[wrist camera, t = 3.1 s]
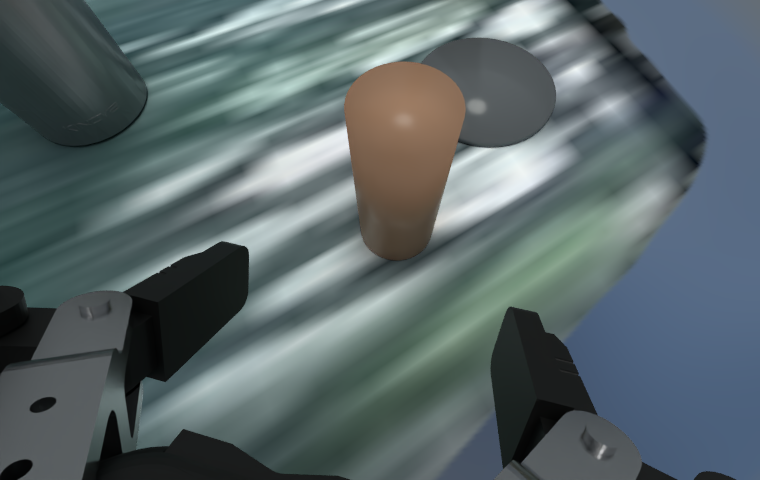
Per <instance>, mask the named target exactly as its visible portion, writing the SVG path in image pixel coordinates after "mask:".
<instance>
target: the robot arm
mask: <svg viewBox="0 0 760 480" xmlns="http://www.w3.org/2000/svg"><path fill="white" fill-rule="evenodd" d="M146 95H147V89H146V85H145V82H144V80H143V79H142V77H141V76H140V74H139V73H138V72H137V70H136V69H135V68H134V66H133V65H132V64H131V62H130V61H129V60H128V58H127V57H126V56H125V54H124V53H123V52H122V50H121V49H120V48H119V46H118V45H117V44H116V42H115V41H114V39H113V38H112V37H111V35H110V34H109V32H108V31H107V30H106V28H105V27H104V26H103V24H102V23H101V22H100V20H99V19H98V18H97V16H96V15H95V14H94V12H93V11H92V10H91V8H90V7H89V6H88V4H87V3H86V2H85V0H0V103H2V104H3V105H4V106H5V107H7V108H8V109H9V110H11V111H12V112H13V113H14V114H16V115H17V116H18V117H20V118H21V119H22V120H23V121H25V122H26V123H27V124H28V125H30V126H31V127H32V128H34V129H35V130H36V131H37V132H39V133H40V134H41V135H43V136H44V137H45V138H47V139H49V140H50V141H52V142H54V143H58V144H61V145H69V146H79V145H88V144H92V143H96V142H99V141H102V140H104V139H107V138H109V137H111V136H113V135H115V134H117V133H118V132H120V131H122V130H123V129H124V128H125V127H127V126H128V125H129V124H130V123H132V121H133V120H134V119H135V118H136V117H137V116H138V115H139V113H140V111H141V110H142V108H143V106H144V103H145V100H146ZM248 279H249V252H248V249H247V248H246V247H245V246H241V245H237V244H232V243H228V242H223V241H222V242H219V243H217V244H215V245H214V246H212V247H210V248H209V249H207V250H205V251H204V252H201V253H198V254H194V255H191V256H187V257H184V258H182V259H181V260H179V261H177V262H175V263H174V264H172V265H171V267H167V268H165V269H163V270H161V271H160V273H156V274H154V275H152V276H151V277H149V278H147V279H145V280H144V281H142V282H140V283H138V284H137V285H135V286H133V287H131V288H130V289H128V290H126V291H124V292H119V291H96V292H90V293H86V294H82V295H79V296H76V297H74V298H71V299H69V300H67V301H65V302H64V303H63V304H61V305H60V306H59V307H58V308H57V309H55V308H28V307H27V305H26V301H25V297H24V293H23V291H22V290H21V289H19V288H16V287H11V286H0V480H350V479H346V478H343V477H340V476H326V475H298V474H280V473H276V472H274V471H272V470H271V469H269V468H267V467H266V466H264V465H263V464H261V463H260V462H258V461H257V460H255V459H254V458H252V457H251V456H249V455H248V454H246V453H245V452H243V451H242V450H240V449H239V448H237V447H236V446H234V445H233V444H231V443H227V442H224V441H221V440H217V439H214V438H211V437H207V436H204V435H201V434H198V433H194V432H191V431H188V430H184V429H183V430H182V431H181V433H180V434H179V435H178V436H177V437H176V439H175V440H174V441H173V442H172V443H171V444H170V446H162V447H150V448H144V449H138V450H136V448H137V439H138V431H139V423H140V414H141V406H142V397H143V385H142V380H143V379H144V378H145V377H149V378H153V379H156V380H160V381H163V382H166V381H167V380H168V379H169V378H170V377H171V376H172V375H173V374H174V373H175V372H177V371H178V370H179V369H180V368H181V367H182V366H183V365H184V364H185V363H186V362H187V361H188V360H189V359H190V358H191V357H192V356H193V355H194V354H195V353H196V352H197V351H198V350H199V349H200V348H202V347H203V346H204V345H205V344H206V343H207V342H208V341H209V340H210V339H211V338H212V337H213V336H214V335H215V334H216V333H217V332H218V331H219V330H220V329H221V328H222V327H223V326H224V325H225V324H227V323H228V322H229V321H230V320H231V319H232V318H233V317H234V316H235V315H236V314H237V313H238V312H239V311H240V310H241V309H242V307H243V306H244V304H245V302H246V299H247V296H248ZM578 374H579V373H578V371H577V369H576V366H575V364H573V360H572V358H571V355H570V353H569V351H568V349H567V347H566V346H565V345H564V344H563V343H562V342H561V341H560V340H559V339H558V338H557V337H556V336H555V335H554V334H550V333H546V332H545V330H544V328H543V325H542V323H541V320H540V317H539V315H538V313H536V312H532V311H528V310H523V309H519V308H515V307H509V308H508V309H507V311H506V314H505V316H504V319H503V322H502V326H501V329H500V332H499V335H498V338H497V341H496V344H495V347H494V350H493V353H492V358H491V379H492V387H493V395H494V402H495V410H496V418H497V426H498V434H499V441H500V449H501V456H502V465H503V470H502V472H500V474H499V475H498V476H497V477H496V478H495V479H494V480H677V479H675V478H673V477H671V476H669V475H667V474H665V473H663V472H661V471H659V470H657V469H655V468H652V467H651V466H649V465H647V464H645V463H643V462H642V461H641V456H640V454H639V451H638V449H637V448H636V446H635V445H634V443H633V442H632V441H631V440H630V439H629V437H627V435H626V434H625V433H624V432H622V431H621V430H620V429H619V428H618V427H616V426H615V425H613V424H612V423H611V422H609V421H607V420H606V419H604V418H602V417H600V416H598V415H597V413H596V411H595V408H594V406H593V404H592V402H591V400H590V397H589V395H588V393H587V391H586V388H585V386H584V384H583V382H582V380H581V377H580V376H578ZM694 480H736V479H733V478H731V477H729V476H726V475H724V474H721V473H716V472H710V471H709V472H708V471H706V472H701V473H699V474H698V475H697V476H696V477H695V479H694Z"/></svg>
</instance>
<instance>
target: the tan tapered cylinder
mask: <svg viewBox="0 0 760 480" xmlns="http://www.w3.org/2000/svg"><path fill="white" fill-rule="evenodd" d="M344 111H345V118H346V126H347V133H348V140H349V148H350V155H351V162H352V170H353V177H354V184H355V191H356V199H357V206H358V213H359V221H360V228H361V234H362V238H363V240H364V242H365V244H366V245H367V247H368V248H369V249H370V250H371V251H372V252H373V253H375V254H376V255H378V256H380V257H382V258H385V259H388V260H406V259H409V258H412V257H414V256H416V255H417V254H419V253H420V252H421V251H423V249H424V248H425V247H426V246H427V244H428V243H429V241H430V238H431V235H432V231H433V228H434V224H435V221H436V217H437V214H438V210H439V206H440V203H441V199H442V196H443V192H444V189H445V185H446V182H447V178H448V175H449V171H450V167H451V164H452V160H453V157H454V153H455V150H456V146H457V143H458V139H459V136H460V132H461V129H462V125H463V121H464V118H465V112H466V107H465V100H464V97H463V94H462V92H461V90H460V89H459V87H458V86H457V84H456V83H455V82H454V81H453V80H452V79H451V78H450V77H448V76H447V75H446V74H444V73H443V72H441V71H440V70H437V69H435V68H433V67H431V66H428V65H424V64H420V63H414V62H394V63H388V64H383V65H380V66H377V67H375V68H373V69H371V70H369V71H367V72H365V73H364V74H363V75H361V76H360V77H359V78H358V79H357V80H356V81H355V82H354V83H353V84H352V86H351V87H350V89H349V91H348V93H347V95H346V98H345V104H344Z"/></svg>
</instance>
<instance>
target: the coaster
mask: <svg viewBox="0 0 760 480" xmlns="http://www.w3.org/2000/svg"><path fill="white" fill-rule="evenodd" d="M421 64H424V65H428V66H431V67H433V68H435V69H437V70H440V71H441V72H443V73H444V74H446V75H447V76H448V77H450V78H451V79H452V80H453V81H454V82H455V83H456V84H457V86H458V87H459V89H460V90H461V92H462V94H463V97H464V100H465V107H466V112H465V118H464V121H463V125H462V129H461V132H460V136H459V139H458V142H461V143H464V144H468V145H473V146H479V147H502V146H509V145H512V144H516V143H519V142H521V141H524V140H526V139H528V138H530V137H531V136H533V135H534V134H536V133H537V132H538V131H539V130H540V129H541V128H542V127H543V126H544V125H545V123H546V122H547V120H548V119H549V117H550V115H551V114H552V111H553V109H554V106H555V102H556V90H555V85H554V82H553V79H552V77H551V75H550V73H549V72H548V70H547V69H546V67H545V66H544V65H543V64H542V63H541V62H540V61H539V60H538V59H537V58H536V57H534V56H533V55H532V54H530V53H529V52H527V51H526V50H524V49H522V48H520V47H518V46H516V45H513V44H510V43H507V42H504V41H500V40H496V39H489V38H467V39H460V40H456V41H452V42H450V43H447V44H444V45H442V46H440V47H438V48H437V49H435V50H434V51H432V52H431V53H430V54H429V55H428V56H427V57H426V58H425V59H424V60H423V61H422V63H421Z"/></svg>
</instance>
